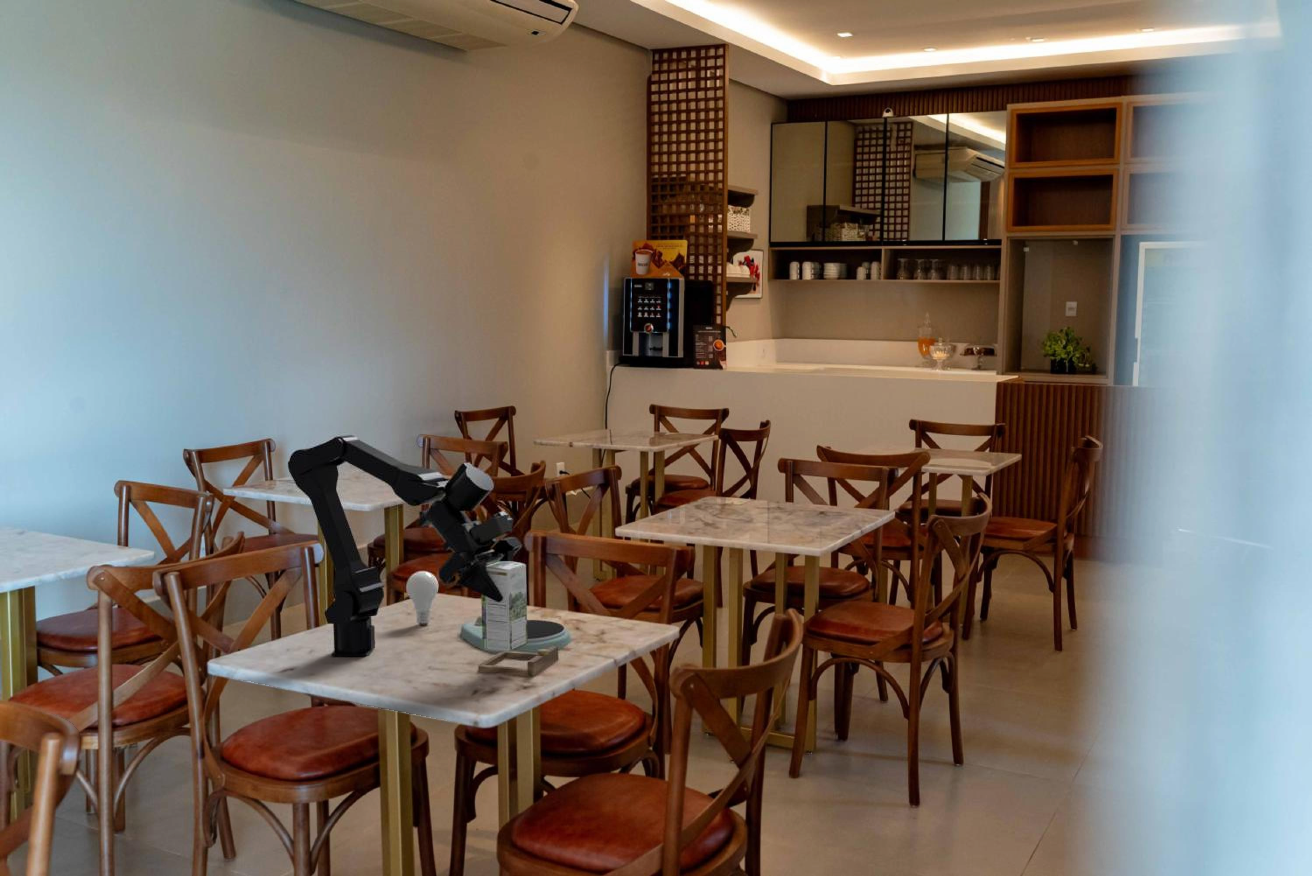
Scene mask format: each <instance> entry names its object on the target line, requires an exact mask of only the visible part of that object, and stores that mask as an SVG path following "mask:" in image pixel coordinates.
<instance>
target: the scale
mask: <svg viewBox="0 0 1312 876" xmlns="http://www.w3.org/2000/svg"><path fill="white" fill-rule="evenodd" d="M460 636H461V637H462V638H463V639H464V640H465V641H467V642H469V643H470V644H471V645H472V646H475V647H477V648H479V649H481V650H483V651H486V652H490V653H494V654H498V653H500V652H503V651H494V650H485V649H483V643H482V615H480V616H478V617H477V618H476V620H470V621H468V622H465V623H463V624H462V625H461V629H460ZM569 643H570V644H571V643H572V637H571V634H570V631H569V630H568V629H567V628H566V627H565V626H564V625H563V624H561V623H558V622H556V621H550V620H543V619H541V620H539V619H527V644H526V645H524V646H522V647H520V648H517V649H515V650H513V651H517V652H530V653H538V650H540V649H548V648H550V647H551V646H558V651H560V650H562V649H564V648H566V647H565V646H567V645H568V644H569ZM570 644H569V645H570ZM569 645H568V646H569ZM568 646H567V647H568ZM563 647H564V648H563ZM561 648H562V649H561Z"/></svg>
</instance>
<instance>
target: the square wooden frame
mask: <svg viewBox="0 0 1312 876" xmlns="http://www.w3.org/2000/svg"><path fill="white" fill-rule="evenodd" d="M506 658H508V659H509V658H510V659H518V660H528V661H527V664H526V665H527V668H525V667H524V668H523V667H513V666H501V665H496V664H498V663H500V662H502V661H503V660H506ZM556 661H557V662H558V661H559V650H558V646H551V647H550V648H548V649H540V650H538V653H530V652H517V651H511V652H506V651H503V652H500V653H495V655H493V656H491V657H489V658H488V659H486V660H485V661H483V662H481V663H479V665H478V667H477V671H478V673H489V674H500V675H501V674H502V675H509V676H510V675H512V676H521V677H523V676H524V677H536V676H537V675H538V674H540V673H542V672H543V671H545V670H546V669H548V668H549V667H551V666H552V665H554V664H555V663H556ZM553 663H554V664H553Z"/></svg>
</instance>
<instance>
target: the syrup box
mask: <svg viewBox="0 0 1312 876" xmlns="http://www.w3.org/2000/svg"><path fill="white" fill-rule="evenodd" d="M486 572H487V573H488V575H489V576H490V578H491V579H492V581H493V582H494V584H495V585H496V587H497V588H498V590H499V591H500V593H501V595H502V596H503V600H502V601H501V602H497V601H494V600H492V599H490V598H488V597H486V596H484V595H482V594H480V595H481V601H480V602H481V616H482V643H483V649H485V650H484V651H486V650H494V651H506V652H511V651H513V650H515V649H517V648H520V647H522V646H524V645H526V644H527V620H528V609H527V606H528V600H527V597H528V596H527V564H525V563H523V562H517V561H513V562H511V561H502V562H497V563H494V564H490V565H487V564H486ZM483 649H482V650H483Z"/></svg>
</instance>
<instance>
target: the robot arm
mask: <svg viewBox="0 0 1312 876" xmlns="http://www.w3.org/2000/svg"><path fill="white" fill-rule="evenodd" d="M345 463H348V464H349V465H352V467H355V468H358V469H359V470H360V471H363V472H364V473H367V474H368V475H370V476H372V477H374V478H376V479H378V480H379V481H382V482H383V483H385V484H386V485H388V486H389V487H391V489H392V491H393V492H394V494H395V496H397V497H398V498H400V500H402V501H403V502H404V503H405V504H407V505H408V506H412V507H419V506H422V505H428V504H431V505H430V506H429V507H428V508H427V509H424V510H420V511H419V513H418V515H419V517H418V521H417V526H418V527H419V528H422V527H427V526H432V528H433V529H435V531H436V533H438V535H439V536H440V537H441V538H442V541H444V543H443V544H442V548H443V549H444V551H447V550H451V552H453V553H452V554H450V556H449V557H448V558H447V559H446V560H445V561H444V563H443V564H442V565H441V566H440V567H439V568H438V570H437V578H438V579H439V580H440V582H441V583H442V584H443V586H448V585H451V584H454V583H455V582H456V583H455V585H457V586H458V587H459V586H462V587H464V588H466V589H468V590H471V591H473V592H476V593H478V594H480V595H481V594H482V595H484V596H486V597H488V598H490V599H492V600H494V601H497V602H501V601H502V600H503V596H502V595H501V593H500V591H499V590H498V588H497V587H496V585H495V584H494V582H493V581H492V579H491V578H490V576H489V575H488V573H487V572H486V566H487V565H490V564H494V563H497V562H502V561H511V562H514V556H516V554H517V553H518V551H520V549H521V548H522V547H523V544H522V543H521V542H520V540H519V539H518V538H517V537H516V536H507V537H504V538H502V539H499V540H497V539H496V538H498V537H500V536H504V535H506V534H510V533H512V532H513V529H512V527H513V524H514V518H512V517H511V516H510V515H509V514H508V513H507V512H505V511H499V512H498V513H496V514H493V515H492V518H489V519H487V520H486V521H484V522H480V521H479V520H473V521H472V520H471V519H470V518H469V517H468V515H467V514H466V513H465V512H474V511H475V510H476V508H478V506H479V505H480V504H481V503H482V501H484V499H485V498H486V497H487V496H488V495H490V493H491V492H492V491H493V489H494V487H495V485H494V484H495V483H494V481H493V479H492V478H491V476H490V475H489V474H488V473H485V472H484V471H483V470H482V469H480V468H478V467H475V466H474V465H472V464H471V462H470V461H469V462H463V463H461V464H460V466H459V467H458V468H457V470H456V472H455V473H454V474H453V475H452V476H451V478H446V477H444V476H443V475H442V474H441V472H439V471H437V470H435V469H431V468H427V467H423V466H419V465H418V466H417V465H412V464H407V463H405V462H402V461H400V460H399V459H396V458H395V457H393V456H390V455H388V454H387V453H384V452H383V451H382V450H379V449H378V448H375V447H374V446H372V445H370V444H368V443H366V442H364V441H363V440H360V438H358V437H357V436H355V435H352V434H349V435H341V436H340V435H339V436H335V437H333V438H331V439H330V440H328V441H326V442H323V443H321V444H317V445H316V446H313V447H310V448H302V449H296V450H295V451H293V452H292V453H291V455H290V457H289V461H287V469H288V471H289V474H290V476H291V478H292V480H293V481H294V484H295V486H296V487H297V488H299V490H300V491H301V492H302V493H303V494H304V495H306V496H307V497H308V499H309V500H310V502H311V506H312V508H313V511H314V513H315V516H316V519H317V522H318V525H319V527H320V530H321V534H322V537H323V539H324V542H325V543H326V548H327V549H328V553H329V555H330V558H331V561H332V564H333V567H334V569H335V575H334V580H333V591H334V592H333V593H334V598H335V599H334V600H333V602H332V603H330V605H329V607H328V608H326V610H325V611H324V617H325V620H326V624H331V625H332V626H333V627H332V628H333V651H332V652H331V653H330V655H331V657H366V656H368V655H369V654H370V653H371V652H372V651H373V650H374V649H375V648H376V638H375V637H376V632H375V628H376V627H375V625H372V617H376V616H377V615H378V613H379V608H380V605H381V604H382V601H383V599H384V597H385V593H384V588H385V586H386V585H385V584H384V583H383V581H382V579H381V576H380V571H379V569H378V568H377V566H372V567H369V566H368V565H367V564H365V562H363V559H362V558H361V554H360V551H359V549H358V547H357V543H356V540H355V538H354V536H353V533H352V529H351V527H350V525H349V521H348V520H347V519H348V518H347V516H346V513H345V510H344V508H343V505H342V502H341V500H340V497H339V493H338V491H337V488H338V487H337V486H338V480H339V466H342V465H343V464H345ZM457 574H458V577H459V579H458V580H457V581H456V579H457V578H456V575H457Z"/></svg>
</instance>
